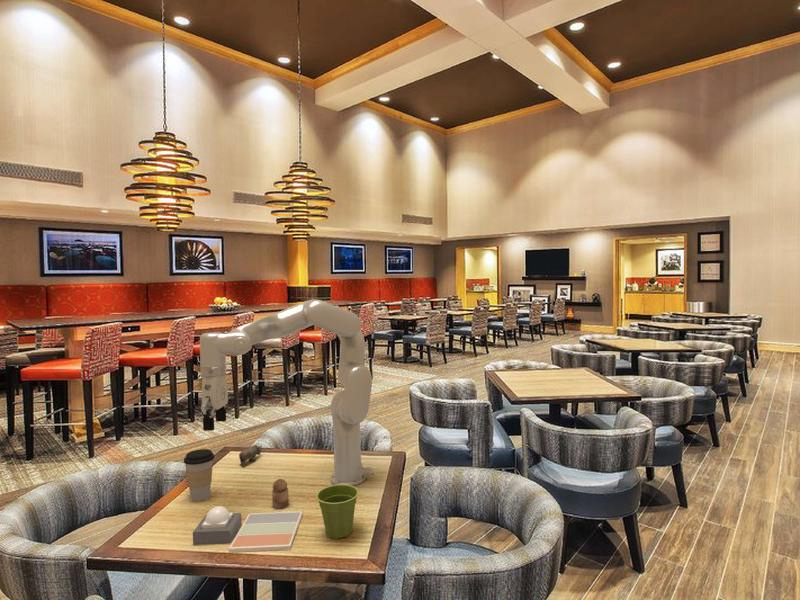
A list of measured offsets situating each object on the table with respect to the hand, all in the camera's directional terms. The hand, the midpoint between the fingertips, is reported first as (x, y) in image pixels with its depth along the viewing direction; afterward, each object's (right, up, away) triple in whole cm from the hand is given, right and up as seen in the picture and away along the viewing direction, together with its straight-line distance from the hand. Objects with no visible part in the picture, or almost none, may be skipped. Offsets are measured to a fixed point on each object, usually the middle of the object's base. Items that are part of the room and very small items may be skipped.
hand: (215, 425), depth 149 cm
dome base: (+7, -26, -16) cm, 32 cm away
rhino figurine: (-1, -25, +39) cm, 47 cm away
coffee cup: (-8, -26, +7) cm, 28 cm away
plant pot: (+41, -26, -17) cm, 52 cm away
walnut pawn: (+21, -25, 0) cm, 33 cm away
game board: (+21, -26, -16) cm, 37 cm away
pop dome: (+7, -25, -16) cm, 31 cm away
